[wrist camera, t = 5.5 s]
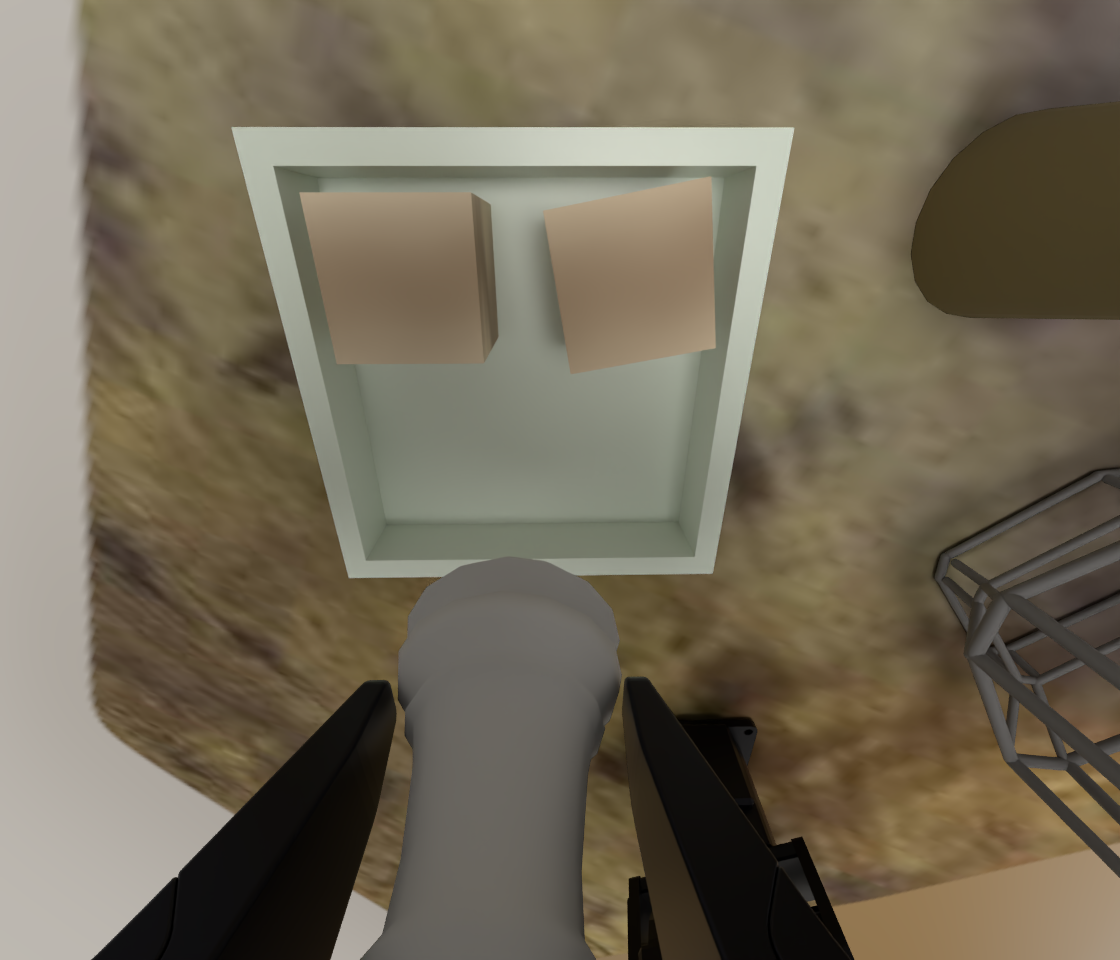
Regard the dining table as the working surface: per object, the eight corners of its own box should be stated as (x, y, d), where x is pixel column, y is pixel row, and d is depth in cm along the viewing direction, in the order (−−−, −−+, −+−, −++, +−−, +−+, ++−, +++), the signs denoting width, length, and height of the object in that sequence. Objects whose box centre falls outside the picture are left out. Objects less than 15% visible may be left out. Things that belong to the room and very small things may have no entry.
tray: (691, 529, 21) (712, 573, 18) (376, 532, 21) (348, 578, 18) (748, 149, 14) (794, 127, 12) (293, 149, 14) (231, 126, 12)
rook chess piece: (524, 721, 12) (480, 1470, 5) (371, 632, 10) (-41, 1515, 3) (659, 622, 10) (902, 1487, 3) (502, 501, 9) (291, 1582, 2)
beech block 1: (498, 336, 16) (483, 363, 13) (383, 337, 16) (336, 364, 13) (490, 204, 15) (470, 192, 11) (361, 204, 14) (299, 192, 11)
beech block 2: (679, 324, 16) (715, 348, 13) (566, 345, 17) (570, 374, 13) (672, 192, 14) (711, 175, 11) (545, 218, 15) (542, 210, 11)
